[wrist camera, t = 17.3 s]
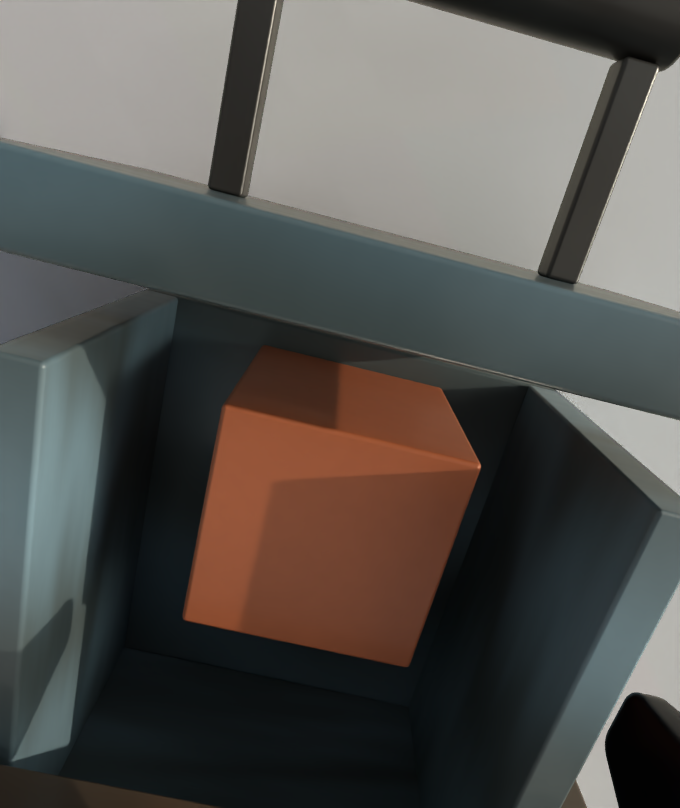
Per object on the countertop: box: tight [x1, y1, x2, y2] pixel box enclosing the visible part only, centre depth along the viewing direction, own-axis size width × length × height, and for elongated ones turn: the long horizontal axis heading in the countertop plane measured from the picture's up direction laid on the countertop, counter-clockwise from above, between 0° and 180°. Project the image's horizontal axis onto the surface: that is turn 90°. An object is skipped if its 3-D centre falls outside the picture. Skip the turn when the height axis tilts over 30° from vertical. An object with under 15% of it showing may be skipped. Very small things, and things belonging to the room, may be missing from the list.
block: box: [182, 345, 481, 667], centre depth 12 cm, size 4×4×4 cm
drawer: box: [0, 0, 680, 808], centre depth 11 cm, size 18×11×7 cm, turn 166°
